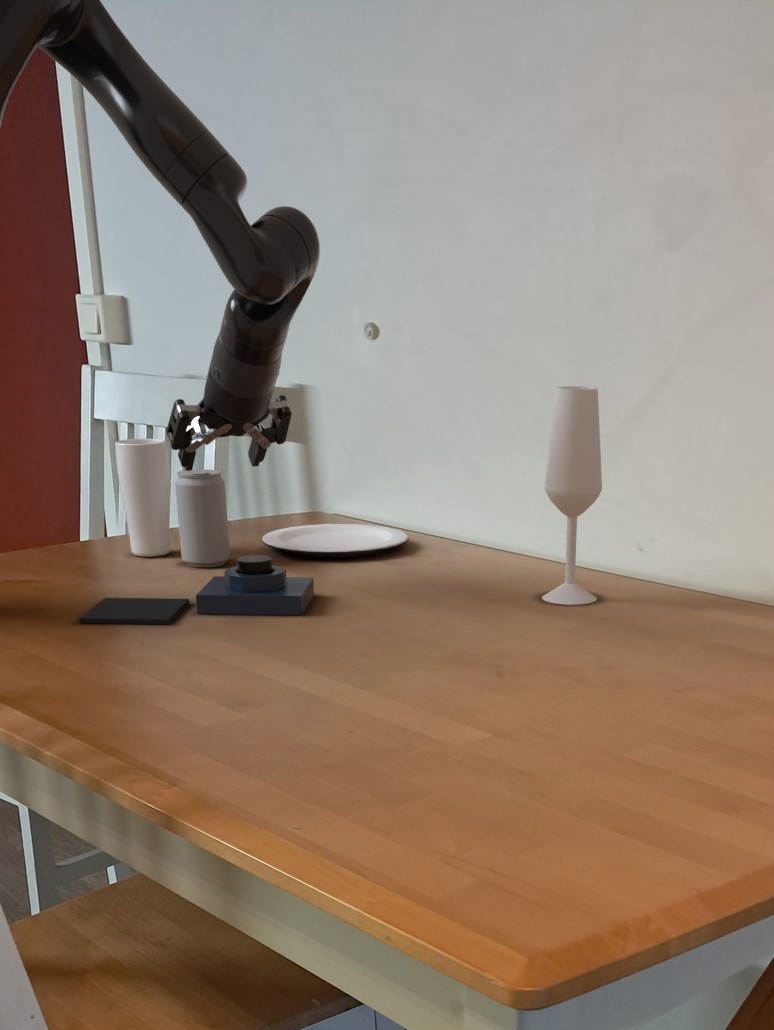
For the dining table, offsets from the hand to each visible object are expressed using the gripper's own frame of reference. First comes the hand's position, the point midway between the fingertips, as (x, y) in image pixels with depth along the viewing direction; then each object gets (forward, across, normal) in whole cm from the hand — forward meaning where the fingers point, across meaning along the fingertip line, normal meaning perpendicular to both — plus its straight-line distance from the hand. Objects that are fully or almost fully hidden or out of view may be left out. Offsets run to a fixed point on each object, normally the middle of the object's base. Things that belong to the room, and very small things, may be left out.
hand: (219, 462), depth 158 cm
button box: (-2, +2, +22) cm, 22 cm away
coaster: (0, +16, +20) cm, 25 cm away
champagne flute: (-11, -33, +32) cm, 47 cm away
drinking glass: (+23, +5, -3) cm, 24 cm away
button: (-4, +2, +19) cm, 20 cm away
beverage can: (+16, 0, +4) cm, 17 cm away
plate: (+18, -20, +2) cm, 27 cm away
